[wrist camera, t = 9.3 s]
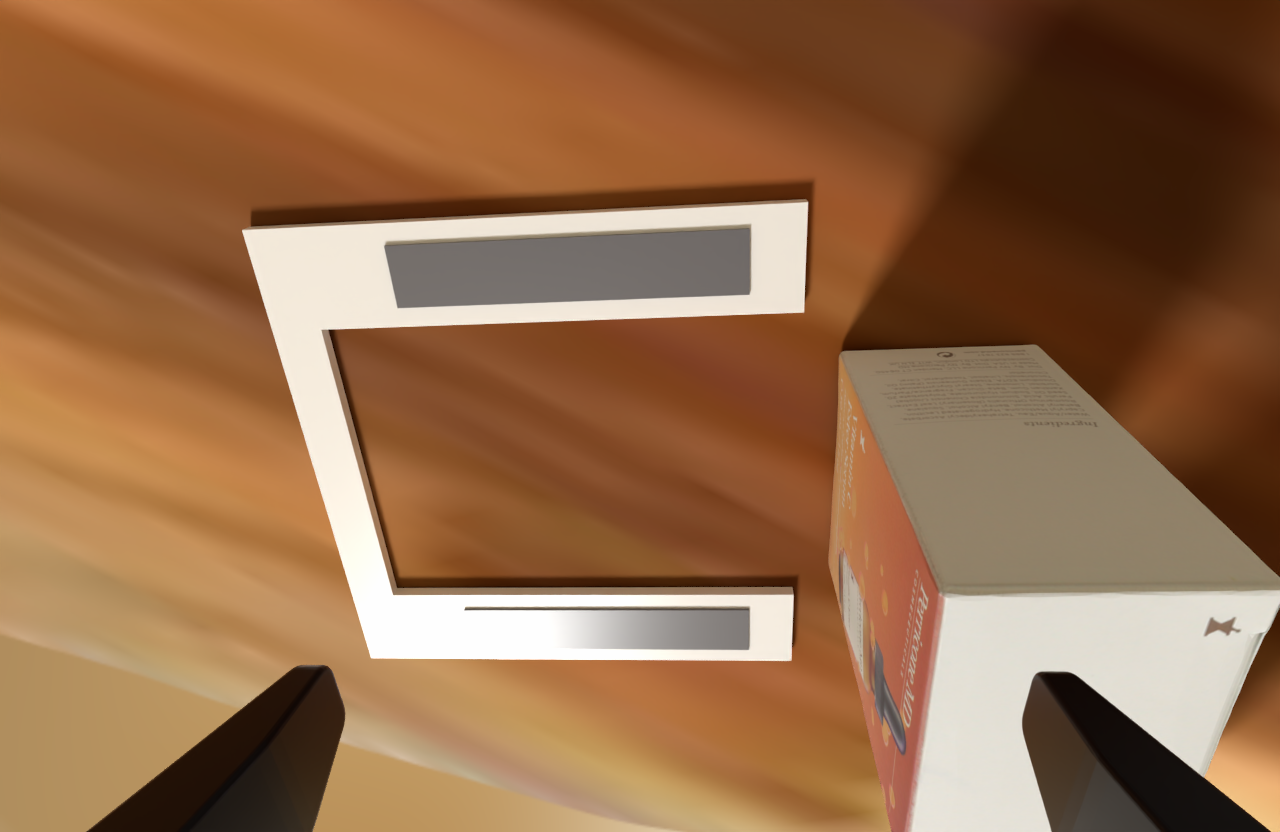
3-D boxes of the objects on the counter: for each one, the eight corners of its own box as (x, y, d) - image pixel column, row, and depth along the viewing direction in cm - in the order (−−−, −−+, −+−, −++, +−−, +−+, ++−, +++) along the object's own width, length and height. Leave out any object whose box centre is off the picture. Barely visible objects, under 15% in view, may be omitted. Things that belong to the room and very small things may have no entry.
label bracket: (806, 199, 20) (808, 203, 19) (790, 652, 27) (791, 662, 27) (249, 226, 21) (240, 231, 21) (375, 650, 29) (370, 660, 28)
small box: (837, 345, 22) (939, 583, 12) (1040, 338, 21) (1306, 582, 12) (823, 567, 25) (894, 881, 16) (996, 566, 25) (1175, 890, 16)
